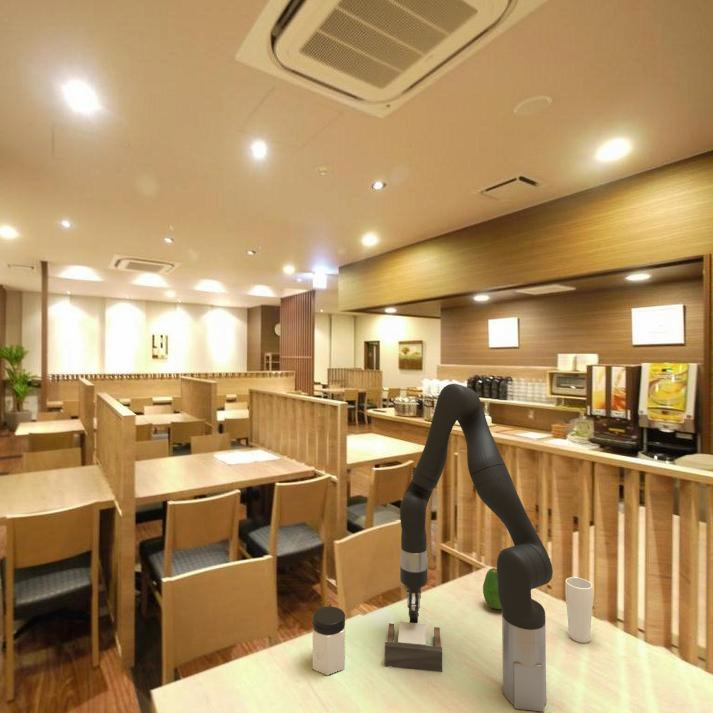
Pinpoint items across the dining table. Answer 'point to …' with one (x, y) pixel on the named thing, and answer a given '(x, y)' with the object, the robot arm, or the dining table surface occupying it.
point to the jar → (328, 640)
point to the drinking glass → (579, 608)
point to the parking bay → (413, 653)
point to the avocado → (491, 589)
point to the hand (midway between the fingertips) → (413, 627)
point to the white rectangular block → (412, 633)
